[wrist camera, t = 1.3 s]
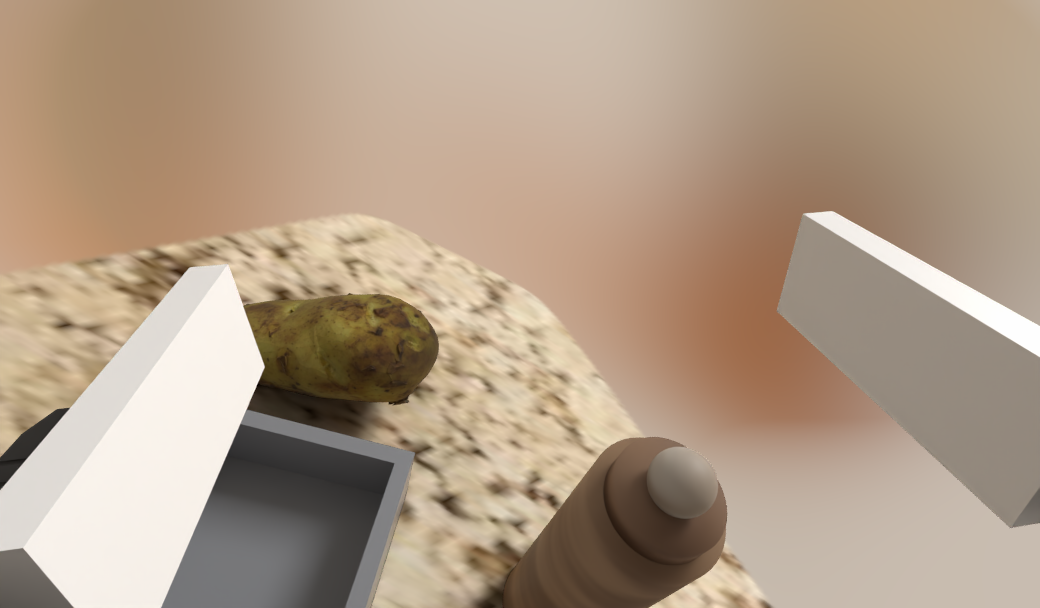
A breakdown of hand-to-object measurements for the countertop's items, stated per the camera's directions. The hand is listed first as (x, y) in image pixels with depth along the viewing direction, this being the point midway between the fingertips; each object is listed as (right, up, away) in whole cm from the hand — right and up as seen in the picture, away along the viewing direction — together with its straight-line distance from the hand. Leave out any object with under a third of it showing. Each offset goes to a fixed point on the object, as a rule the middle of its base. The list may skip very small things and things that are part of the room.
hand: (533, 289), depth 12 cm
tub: (-14, -14, +13) cm, 24 cm away
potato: (-13, -5, +22) cm, 26 cm away
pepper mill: (+1, -16, +16) cm, 23 cm away
